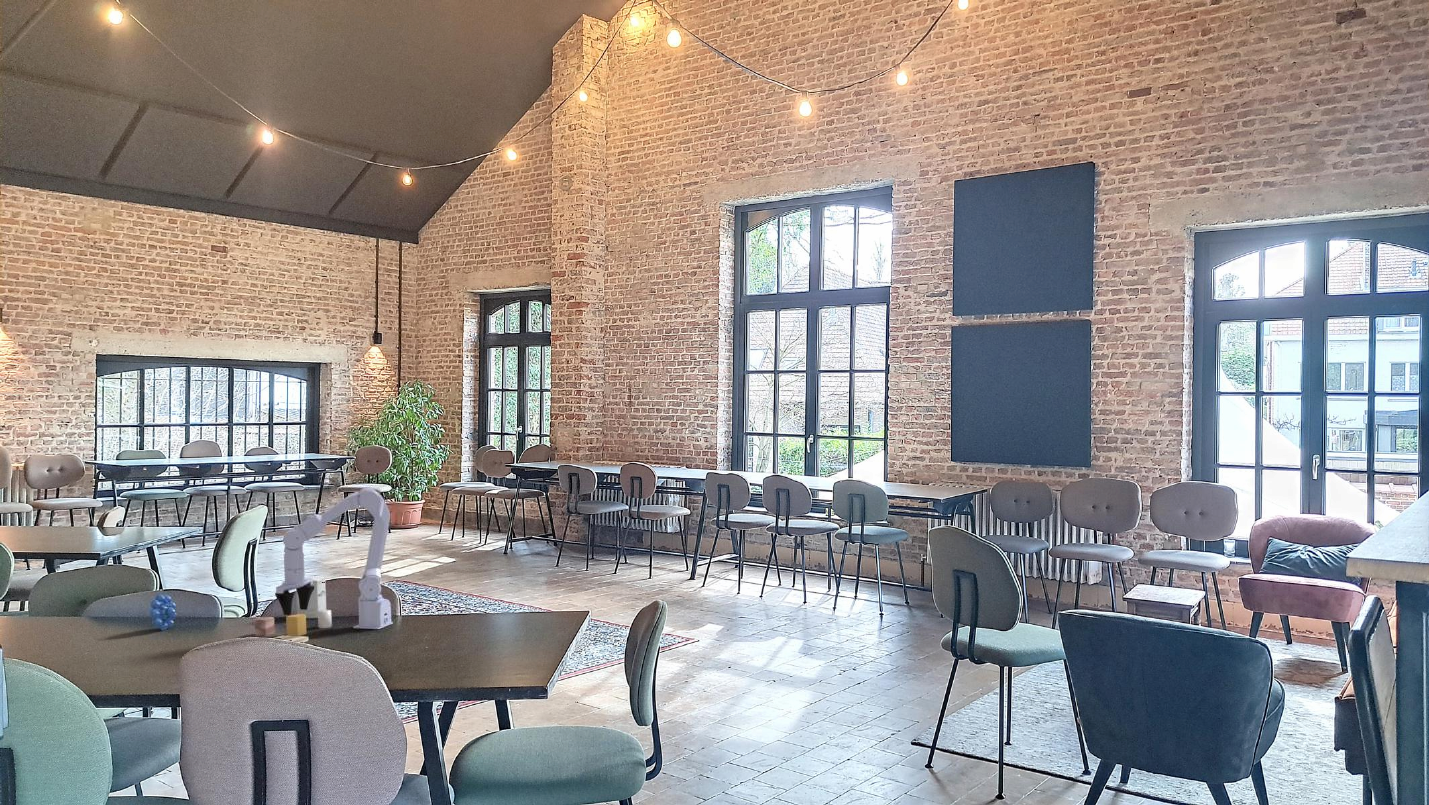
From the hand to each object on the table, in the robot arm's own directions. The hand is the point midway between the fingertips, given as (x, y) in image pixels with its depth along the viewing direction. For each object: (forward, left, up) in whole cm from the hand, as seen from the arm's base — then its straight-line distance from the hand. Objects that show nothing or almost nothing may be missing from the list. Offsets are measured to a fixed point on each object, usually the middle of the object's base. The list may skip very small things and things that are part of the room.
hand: (295, 612), depth 316 cm
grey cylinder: (-2, -11, -7) cm, 13 cm away
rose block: (+11, +1, -7) cm, 13 cm away
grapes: (+48, +2, -7) cm, 49 cm away
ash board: (-4, +11, -7) cm, 14 cm away
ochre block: (0, 0, -7) cm, 7 cm away
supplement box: (+13, -24, -7) cm, 28 cm away
